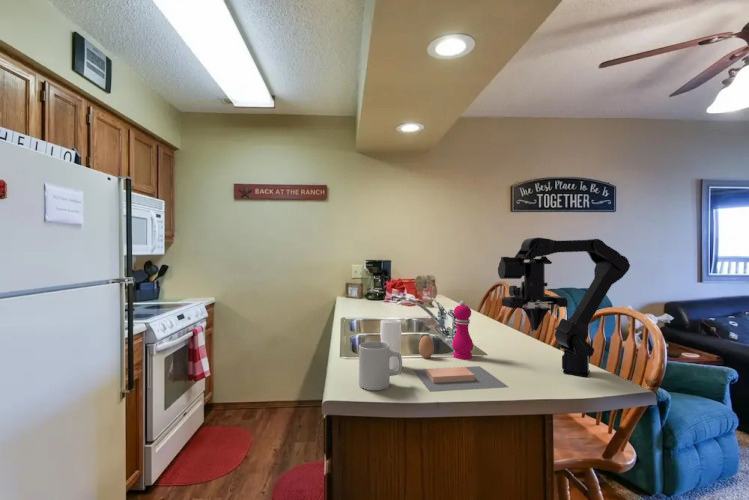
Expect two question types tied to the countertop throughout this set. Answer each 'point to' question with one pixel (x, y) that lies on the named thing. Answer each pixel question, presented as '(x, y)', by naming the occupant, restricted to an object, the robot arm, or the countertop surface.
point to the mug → (376, 365)
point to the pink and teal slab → (450, 375)
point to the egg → (426, 347)
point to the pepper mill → (462, 333)
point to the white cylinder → (391, 338)
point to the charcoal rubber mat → (481, 382)
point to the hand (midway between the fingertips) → (534, 330)
